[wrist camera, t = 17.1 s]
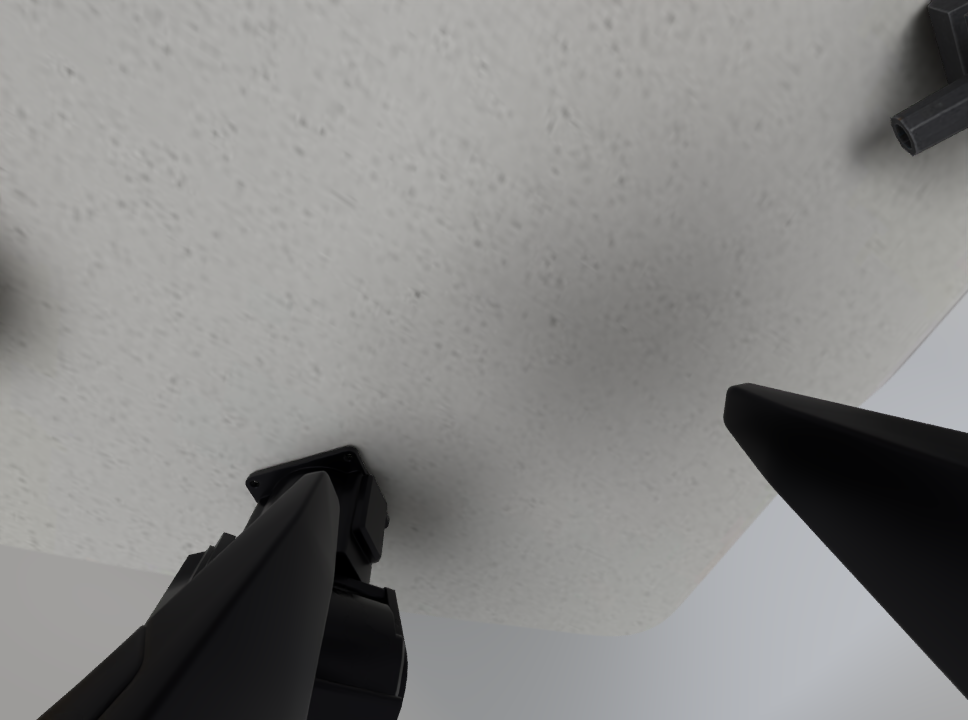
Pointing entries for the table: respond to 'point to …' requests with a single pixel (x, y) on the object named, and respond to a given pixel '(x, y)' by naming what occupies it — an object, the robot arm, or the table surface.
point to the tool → (962, 104)
